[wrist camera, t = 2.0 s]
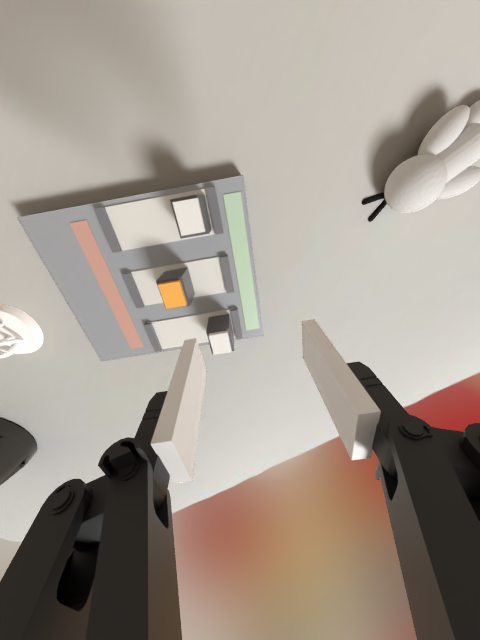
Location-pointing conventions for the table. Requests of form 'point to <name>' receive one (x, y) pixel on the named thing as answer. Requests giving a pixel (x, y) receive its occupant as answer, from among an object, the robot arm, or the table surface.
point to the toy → (436, 164)
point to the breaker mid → (176, 288)
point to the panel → (150, 267)
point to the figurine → (18, 332)
